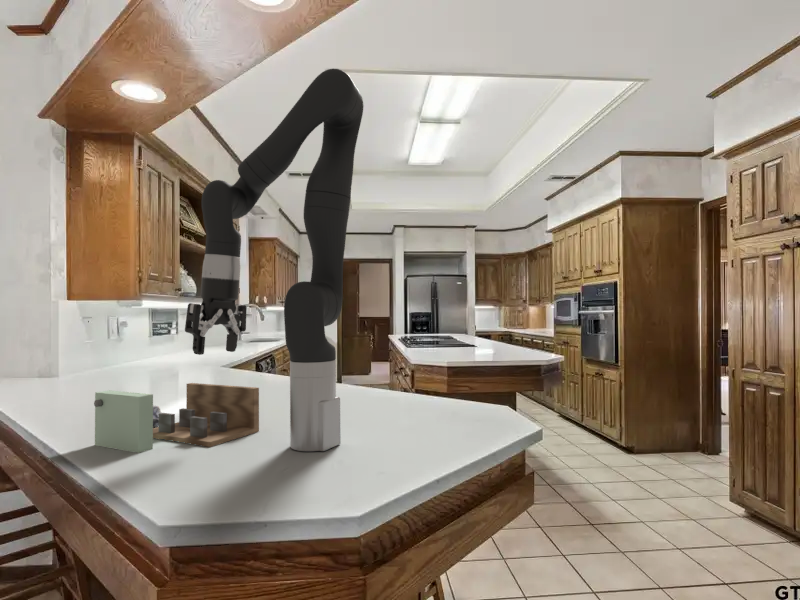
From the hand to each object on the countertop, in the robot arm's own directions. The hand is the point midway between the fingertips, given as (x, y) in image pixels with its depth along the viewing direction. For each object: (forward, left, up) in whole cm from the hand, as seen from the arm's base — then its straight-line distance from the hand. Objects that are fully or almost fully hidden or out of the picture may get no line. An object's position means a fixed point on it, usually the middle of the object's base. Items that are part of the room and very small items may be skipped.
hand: (215, 352), depth 100 cm
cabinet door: (+15, +11, -19) cm, 26 cm away
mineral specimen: (+28, -5, -19) cm, 34 cm away
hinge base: (+9, -3, -19) cm, 21 cm away
